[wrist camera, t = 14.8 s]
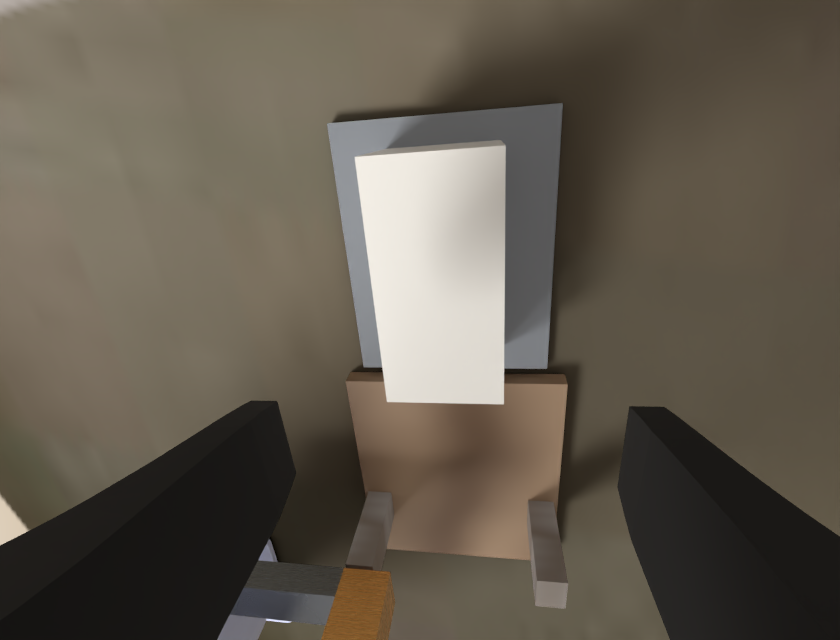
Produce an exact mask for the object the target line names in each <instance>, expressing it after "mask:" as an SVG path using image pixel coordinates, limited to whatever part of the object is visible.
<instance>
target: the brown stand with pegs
mask: <svg viewBox="0 0 840 640" xmlns="http://www.w3.org/2000/svg"><path fill="white" fill-rule="evenodd" d="M346 386H347V391H348V397H349V403H350V409H351V414H352V420H353V426H354V432H355V437H356V443H357V449H358V455H359V460H360V466H361V472H362V478H363V483H364V489H365V495H366V501H365V504H364V507H363V510H362V514H361V517H360V520H359V523H358V526H357V529H356V532H355V536H354V539H353V542H352V545H351V548H350V551H349V554H348V558H347V561H346V564H345V565H346V568H351V569H363V570H374V571H381V570H382V566H383V562H384V557H385V553H386V549H395V550H408V551H420V552H433V553H446V554H458V555H471V556H483V557H496V558H509V559H521V560H531V568H532V578H533V588H534V597H535V606H543V607H554V608H564V609H565V608H566V599H567V590H568V580H567V574H566V569H565V563H564V557H563V552H562V546H561V541H560V535H559V530H558V524H557V519H556V518H557V506H558V494H559V482H560V470H561V458H562V447H563V435H564V423H565V411H566V399H567V387H568V384H567V381H566V377H565V374H504V404H457V403H407V402H387V399H386V391H385V384H384V376H383V372H350V374H349V376H348V378H347V380H346Z"/></svg>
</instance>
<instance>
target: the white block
mask: <svg viewBox="0 0 840 640" xmlns="http://www.w3.org/2000/svg"><path fill="white" fill-rule="evenodd" d="M355 165H356V172H357V180H358V187H359V195H360V202H361V210H362V217H363V225H364V233H365V240H366V248H367V255H368V263H369V270H370V278H371V285H372V293H373V301H374V308H375V316H376V323H377V331H378V338H379V346H380V353H381V361H382V369H383V376H384V384H385V391H386V399H387V402H407V403H457V404H504V320H505V172H506V145H505V144H504V143H503V142H502V141H501V140H492V141H479V142H467V143H454V144H441V145H428V146H415V147H403V148H390V149H383V150H379V151H375V152H372V153H368V154H364V155H360V156H356V157H355Z"/></svg>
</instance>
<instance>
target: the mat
mask: <svg viewBox="0 0 840 640" xmlns="http://www.w3.org/2000/svg"><path fill="white" fill-rule="evenodd" d="M562 109H563V103H557V104H546V105H534V106H523V107H511V108H499V109H488V110H476V111H465V112H453V113H442V114H430V115H419V116H407V117H396V118H384V119H373V120H361V121H350V122H338V123H327V126H328V133H329V140H330V146H331V153H332V160H333V166H334V173H335V180H336V186H337V193H338V199H339V206H340V213H341V219H342V226H343V233H344V239H345V246H346V253H347V259H348V266H349V273H350V279H351V286H352V293H353V299H354V306H355V312H356V319H357V326H358V332H359V339H360V346H361V352H362V359H363V366H364V367H382V361H381V353H380V346H379V338H378V331H377V323H376V316H375V308H374V301H373V293H372V285H371V278H370V270H369V263H368V255H367V248H366V240H365V233H364V225H363V217H362V210H361V202H360V195H359V187H358V180H357V172H356V165H355V157H356V156H360V155H364V154H368V153H372V152H375V151H379V150H383V149H390V148H403V147H415V146H428V145H441V144H454V143H467V142H479V141H492V140H501V141H502V142H503V143H504V144H505V145H506V172H505V320H504V369H547V362H548V346H549V329H550V312H551V295H552V278H553V261H554V244H555V227H556V211H557V194H558V177H559V160H560V143H561V126H562Z"/></svg>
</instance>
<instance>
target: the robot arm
mask: <svg viewBox="0 0 840 640" xmlns="http://www.w3.org/2000/svg"><path fill="white" fill-rule="evenodd" d="M295 475H296V470H295V467H294V463H293V459H292V455H291V452H290V448H289V444H288V440H287V437H286V433H285V429H284V425H283V422H282V418H281V414H280V410H279V407H278V403H277V401H250V402H248V403H246V404H244V405H242V406H240V407H239V408H237V409H235V410H234V411H232V412H230V413H228V414H227V415H225V416H224V417H222V418H220V419H219V420H217V421H215V422H214V423H212V424H211V425H209V426H208V427H206V428H204V429H203V430H201V431H200V432H198V433H196V434H195V435H193V436H192V437H190V438H189V439H187V440H185V441H184V442H182V443H181V444H179V445H177V446H176V447H174V448H173V449H171V450H169V451H168V452H166V453H165V454H163V455H162V456H160V457H158V458H157V459H155V460H154V461H152V462H150V463H149V464H147V465H145V466H144V467H142V468H140V469H139V470H137V471H135V472H134V473H132V474H130V475H128V476H127V477H125V478H123V479H122V480H120V481H118V482H117V483H115V484H113V485H112V486H110V487H108V488H106V489H105V490H103V491H101V492H100V493H98V494H96V495H95V496H93V497H91V498H90V499H88V500H86V501H84V502H82V503H81V504H79V505H77V506H75V507H73V508H72V509H70V510H68V511H66V512H64V513H62V514H60V515H59V516H57V517H55V518H53V519H51V520H49V521H47V522H45V523H43V524H41V525H40V526H38V527H36V528H34V529H32V530H30V531H28V532H26V533H24V534H22V535H20V536H18V537H17V538H14V539H13V540H11V541H8V542H6V543H4V544H3V545H1V546H0V640H258V638H259V635H260V633H261V631H262V629H263V626H264V624H265V622H266V620H267V621H276V622H285V623H289V622H292V621H283V620H274V619H265V618H256V617H247V616H238V615H230V613H231V611H232V609H233V608H234V606H235V604H236V602H237V600H238V598H239V596H240V594H241V592H242V590H243V588H244V586H245V585H246V583H247V581H248V579H249V577H250V575H251V573H252V571H253V569H254V567H255V565H256V563H257V562H258V560H260V561H272V562H278V561H277V558H276V555H275V552H274V549H273V546H272V542H271V541H270V539H269V538H270V536H271V534H272V532H273V530H274V528H275V526H276V524H277V522H278V520H279V518H280V516H281V513H282V511H283V508H284V505H285V503H286V500H287V498H288V495H289V492H290V489H291V486H292V483H293V480H294V478H295ZM618 491H619V495H620V499H621V503H622V507H623V511H624V515H625V519H626V522H627V526H628V530H629V533H630V537H631V540H632V543H633V546H634V548H635V551H636V554H637V556H638V559H639V561H640V564H641V566H642V569H643V572H644V574H645V577H646V579H647V582H648V585H649V587H650V590H651V592H652V595H653V597H654V600H655V602H656V605H657V607H658V610H659V612H660V615H661V618H662V620H663V623H664V625H665V628H666V630H667V633H668V635H669V638H670V640H840V537H839V536H838V535H836V534H835V533H834V532H832V531H831V530H829V529H828V528H826V527H825V526H823V525H822V524H820V523H819V522H818V521H816V520H815V519H813V518H812V517H810V516H809V515H807V514H806V513H805V512H803V511H802V510H800V509H799V508H798V507H796V506H795V505H794V504H792V503H791V502H789V501H788V500H787V499H785V498H784V497H782V496H781V495H780V494H778V493H777V492H776V491H774V490H773V489H772V488H770V487H769V486H767V485H766V484H765V483H763V482H762V481H761V480H759V479H758V478H757V477H755V476H754V475H753V474H751V473H750V472H749V471H747V470H746V469H745V468H743V467H742V466H741V465H740V464H738V463H737V462H736V461H734V460H733V459H732V458H730V457H729V456H728V455H726V454H725V453H724V452H723V451H721V450H720V449H719V448H717V447H716V446H715V445H714V444H712V443H711V442H710V441H708V440H707V439H706V438H705V437H703V436H702V435H701V434H699V433H698V432H697V431H696V430H694V429H693V428H692V427H690V426H689V425H688V424H687V423H685V422H684V421H683V420H681V419H680V418H679V417H677V416H676V415H675V414H673V413H672V412H671V411H669V410H668V409H666V408H665V407H636V406H629V413H628V420H627V427H626V433H625V440H624V447H623V453H622V460H621V467H620V474H619V480H618Z"/></svg>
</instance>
